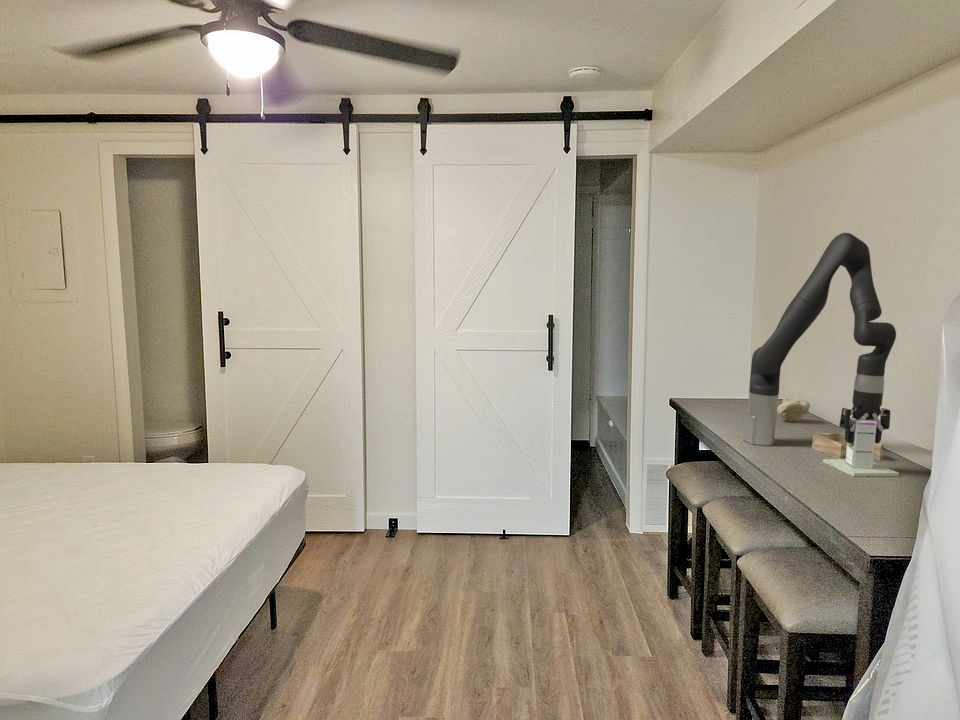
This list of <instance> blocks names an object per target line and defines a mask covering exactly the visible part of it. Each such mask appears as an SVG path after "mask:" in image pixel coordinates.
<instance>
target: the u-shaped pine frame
mask: <svg viewBox="0 0 960 720" xmlns="http://www.w3.org/2000/svg"><path fill="white" fill-rule="evenodd" d="M811 442H812V443H811V448H812V449H814V450H816V451H818V452H820V453H822V452H823V453H822V454H824V455H826V456H830V457H831V458H833V457H834V458H833V459H844V453H845V452H844V451H845V449H846V447H847V442H846V440H845V432H841V433H840V432H837V433H836V432H833V433H832V432H829V433H828V432H826V433H825V432H823V433H822V432H817V433H815V432H813V433H812V441H811ZM884 448H885V444H883V443H881V442H880V443H875V447H874V457H873V459H875V460H878V461H883V459H884V451H885V449H884Z"/></svg>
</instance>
